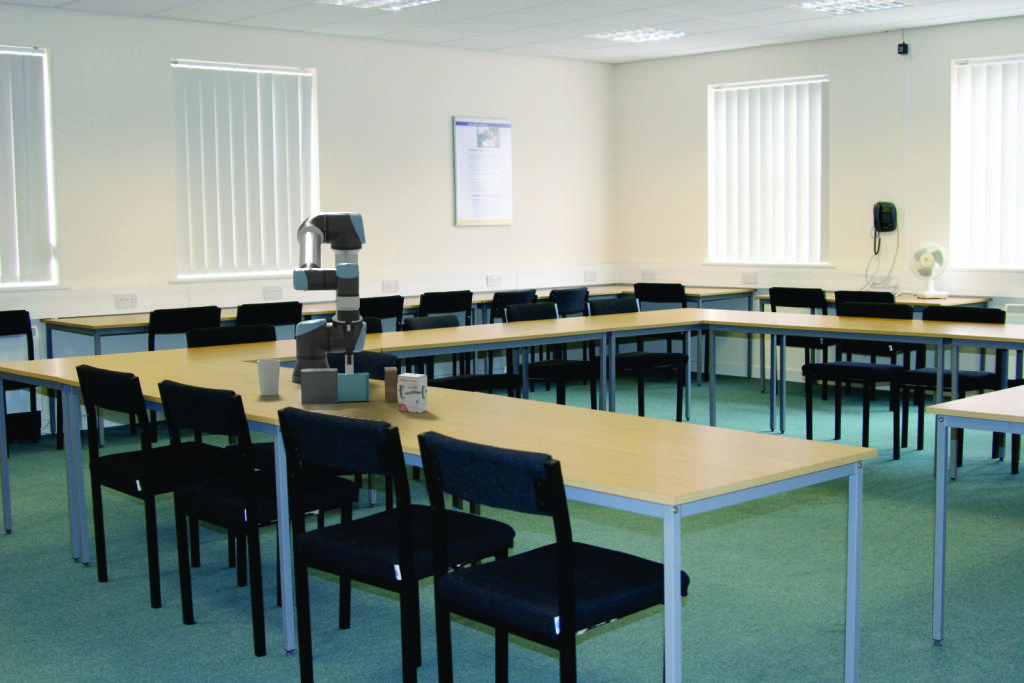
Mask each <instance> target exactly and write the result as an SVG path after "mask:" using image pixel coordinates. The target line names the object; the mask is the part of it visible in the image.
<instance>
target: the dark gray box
mask: <svg viewBox="0 0 1024 683" xmlns="http://www.w3.org/2000/svg"><path fill="white" fill-rule="evenodd" d="M337 373H338V367H336V368H335V367H334V368H333V367H331V368H325V369H301V383H300V386H301V387H300V390H301V392H300V393H301V395H300V396H301V397H300V398H301V401H300V402H301V405H323V404H325V405H326V404H328V405H329V404H339V401H338V381H337Z"/></svg>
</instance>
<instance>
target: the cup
mask: <svg viewBox="0 0 1024 683" xmlns="http://www.w3.org/2000/svg"><path fill="white" fill-rule="evenodd" d="M256 363H257V373H258V382H259V393H260V394H262V395H261V396H263V395H273V396H278V395H279V393H280V390H279V385H280V369H281V368H280V367H281V360H280V359H276V358H275V359H274V358H273V359H271V358H269V359H268V358H266V359H259V360H257V361H256ZM260 394H259V395H260ZM277 394H278V395H277Z"/></svg>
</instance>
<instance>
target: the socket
mask: <svg viewBox="0 0 1024 683" xmlns="http://www.w3.org/2000/svg"><path fill="white" fill-rule="evenodd" d="M384 399H385V403H396V402H397V403H398V368H397V367H396V366H390V367H389V366H388V367H387V366H384Z"/></svg>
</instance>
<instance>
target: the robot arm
mask: <svg viewBox="0 0 1024 683" xmlns="http://www.w3.org/2000/svg"><path fill="white" fill-rule="evenodd" d="M363 220H364V219H363V216H362V214H361V213H359V212H351V211H343V212H342V211H341V212H340V211H338V212H335V211H333V212H325V211H322V212H316V213H314V214H312V215H309V217H307V218H306V219H305V220H304V221H302V223H301V224H300V225H299V227H298V229H297V232H296V233H297V234H296V239H297V243H298V244H299V260H298V262H299V263H298V265H299V266H298V267H299V268H295V269H293V271H292V287H293V289H294V290H295V291H302V292H307V291H311V292H312V291H335V300H334V302H335V315H333V316H332V318H331V322H328V321H327V319H326V318H316V319H310V320H304V321H300V322H299V323H297V324H296V326H295V334H294V335H295V348H296V349H295V354H296V355H295V358H296V360H295V365H294V368H293V369H292V370H293V371H292V374H291V381H292V382H294V383H300V384H301V369H325V368H330V365H329V362H328V354H329V353H330V354H331V353H334V354H338V353H339V354H340V353H342V355H343V356H344V362H345V363H344V368H345V371H344V372H345V374H354V373H355V372H354V369H355V368H354V353H361V352H362V351H363V350H364V348H365V342H366V336H367V322H365V321H363V316H362V315H361V314H360V313H361V312H360V310H359V308H361V307H360V305H361V304H360V302H361V301H360V298H361V297H360V268H359V252H360V251H361V250H362V249H363V245H365V244H366V234H365V227H364V221H363ZM323 244H325V245H330V249H331V250H332V251H333V252H334V262H335V263H334V264H335V265H334V268H322V245H323Z"/></svg>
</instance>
